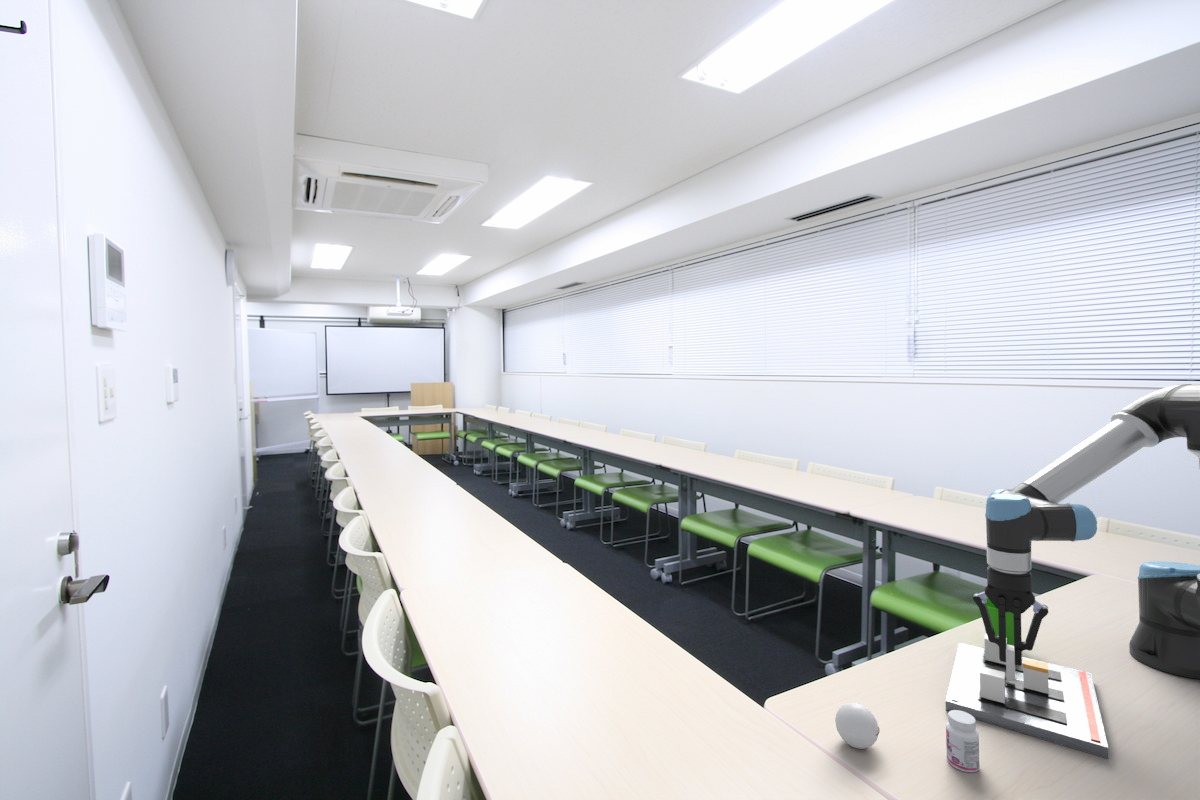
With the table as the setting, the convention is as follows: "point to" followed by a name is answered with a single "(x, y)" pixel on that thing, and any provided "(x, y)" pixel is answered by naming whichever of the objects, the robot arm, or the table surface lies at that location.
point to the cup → (995, 622)
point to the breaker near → (992, 684)
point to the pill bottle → (962, 741)
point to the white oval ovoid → (857, 725)
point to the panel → (1032, 703)
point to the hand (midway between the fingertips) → (1010, 677)
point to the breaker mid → (1035, 675)
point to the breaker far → (992, 651)
